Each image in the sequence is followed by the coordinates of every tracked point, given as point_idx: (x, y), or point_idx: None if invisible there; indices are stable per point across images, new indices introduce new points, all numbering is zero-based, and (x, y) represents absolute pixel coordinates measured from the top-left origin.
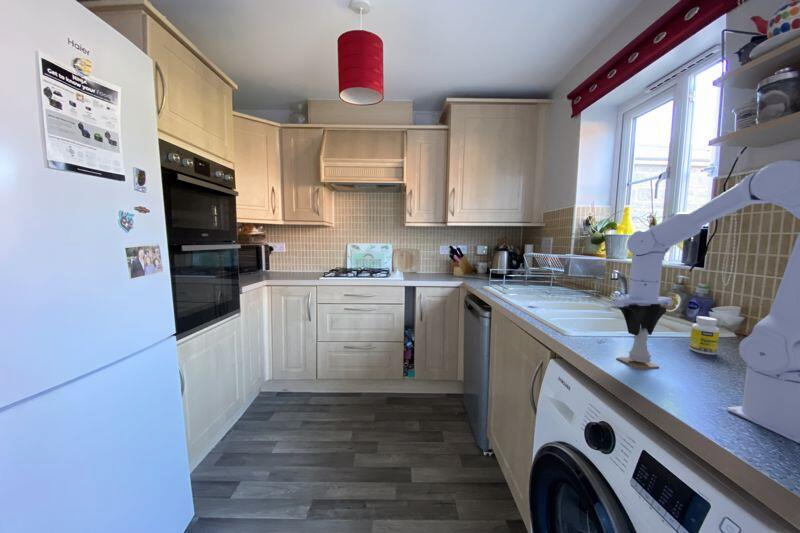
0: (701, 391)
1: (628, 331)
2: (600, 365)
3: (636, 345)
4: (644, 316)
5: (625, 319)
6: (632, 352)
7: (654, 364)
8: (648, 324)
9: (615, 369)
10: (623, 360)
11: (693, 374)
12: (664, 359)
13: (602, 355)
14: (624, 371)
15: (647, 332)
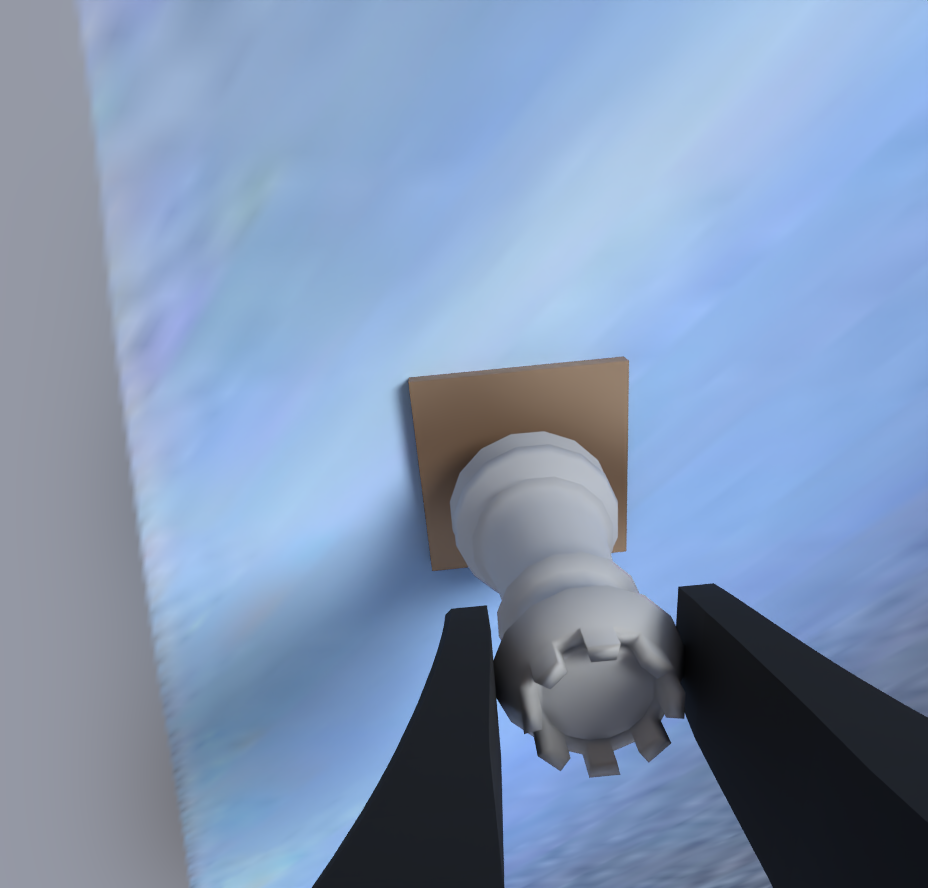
0: (554, 792)
1: (445, 628)
2: (172, 493)
3: (497, 584)
4: (855, 844)
5: (386, 775)
6: (464, 531)
7: (625, 518)
8: (751, 784)
9: (252, 559)
10: (424, 444)
11: None
12: (863, 386)
13: (340, 278)
14: (299, 588)
15: (623, 744)
